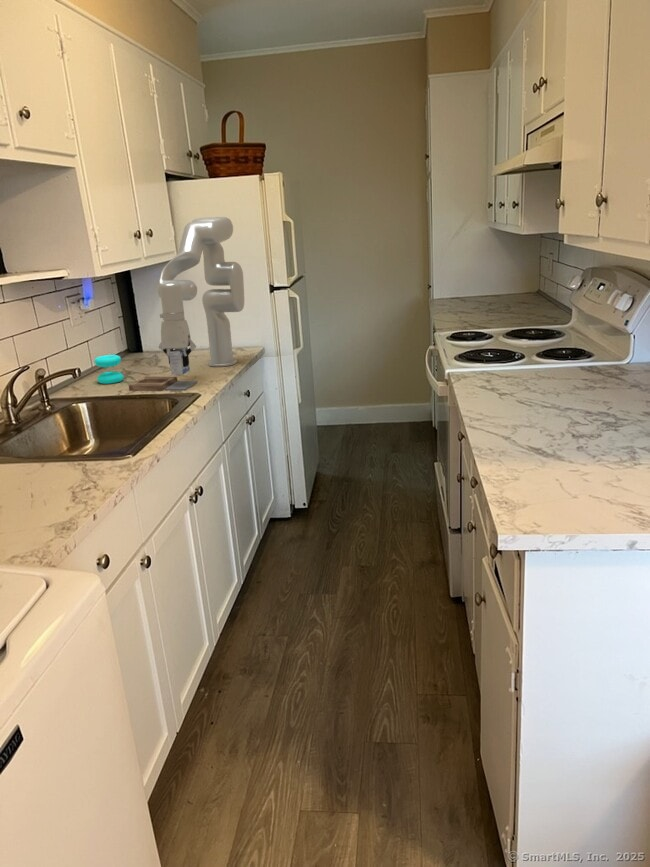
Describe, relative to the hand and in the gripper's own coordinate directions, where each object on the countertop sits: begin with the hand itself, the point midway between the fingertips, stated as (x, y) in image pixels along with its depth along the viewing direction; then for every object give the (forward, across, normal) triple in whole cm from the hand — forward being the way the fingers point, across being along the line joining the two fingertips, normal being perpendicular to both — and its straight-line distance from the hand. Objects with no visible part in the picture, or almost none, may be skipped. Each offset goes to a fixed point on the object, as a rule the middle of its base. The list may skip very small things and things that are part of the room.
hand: (179, 365), depth 242 cm
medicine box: (+3, 0, 0) cm, 3 cm away
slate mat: (+8, 0, 0) cm, 8 cm away
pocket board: (+8, -12, 0) cm, 14 cm away
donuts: (+8, -33, +7) cm, 35 cm away
